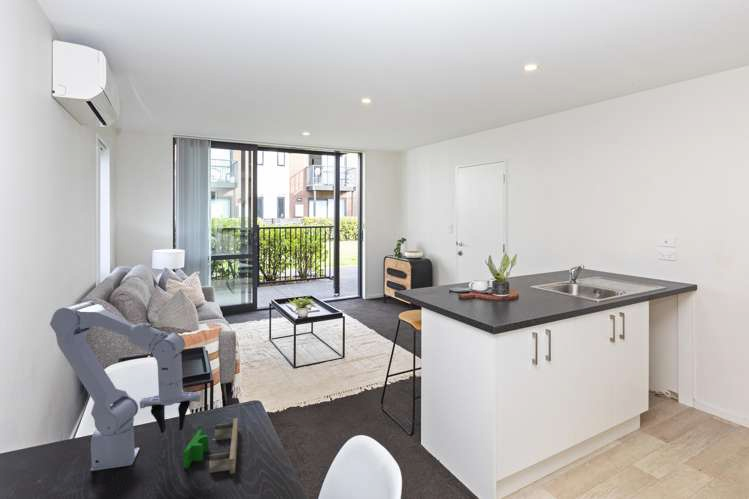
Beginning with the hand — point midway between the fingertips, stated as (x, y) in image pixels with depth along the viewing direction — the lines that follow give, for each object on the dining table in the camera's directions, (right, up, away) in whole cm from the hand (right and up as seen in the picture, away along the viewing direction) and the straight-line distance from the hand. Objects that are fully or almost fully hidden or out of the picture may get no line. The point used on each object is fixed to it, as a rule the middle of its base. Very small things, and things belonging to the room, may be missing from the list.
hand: (172, 429), depth 110 cm
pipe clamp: (+6, -9, +3) cm, 11 cm away
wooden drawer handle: (+13, -8, +4) cm, 16 cm away
